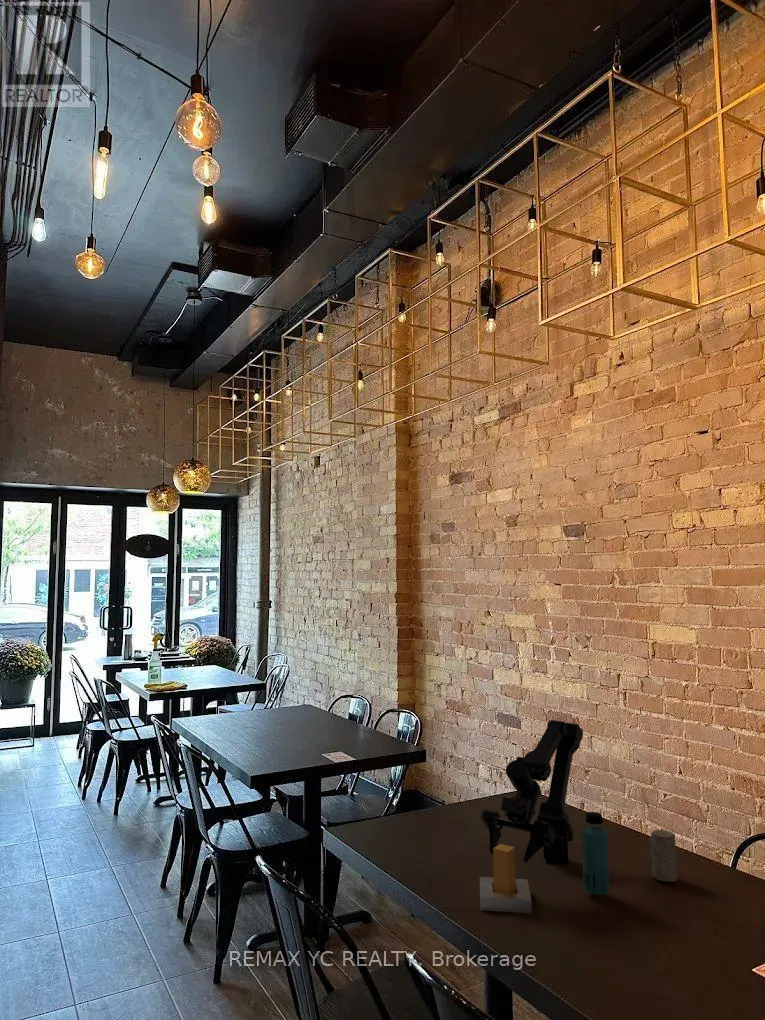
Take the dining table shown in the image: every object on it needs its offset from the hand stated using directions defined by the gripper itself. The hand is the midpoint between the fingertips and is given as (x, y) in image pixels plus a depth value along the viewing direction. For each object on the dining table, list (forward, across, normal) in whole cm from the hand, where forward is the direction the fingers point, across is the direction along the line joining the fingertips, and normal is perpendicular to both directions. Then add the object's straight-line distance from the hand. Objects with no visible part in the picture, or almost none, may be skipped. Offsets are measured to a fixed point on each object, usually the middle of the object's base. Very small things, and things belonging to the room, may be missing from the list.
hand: (507, 857), depth 175 cm
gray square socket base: (+8, 0, +5) cm, 10 cm away
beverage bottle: (-3, +17, +17) cm, 25 cm away
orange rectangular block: (+8, 0, +5) cm, 10 cm away
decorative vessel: (-18, +28, +32) cm, 47 cm away
